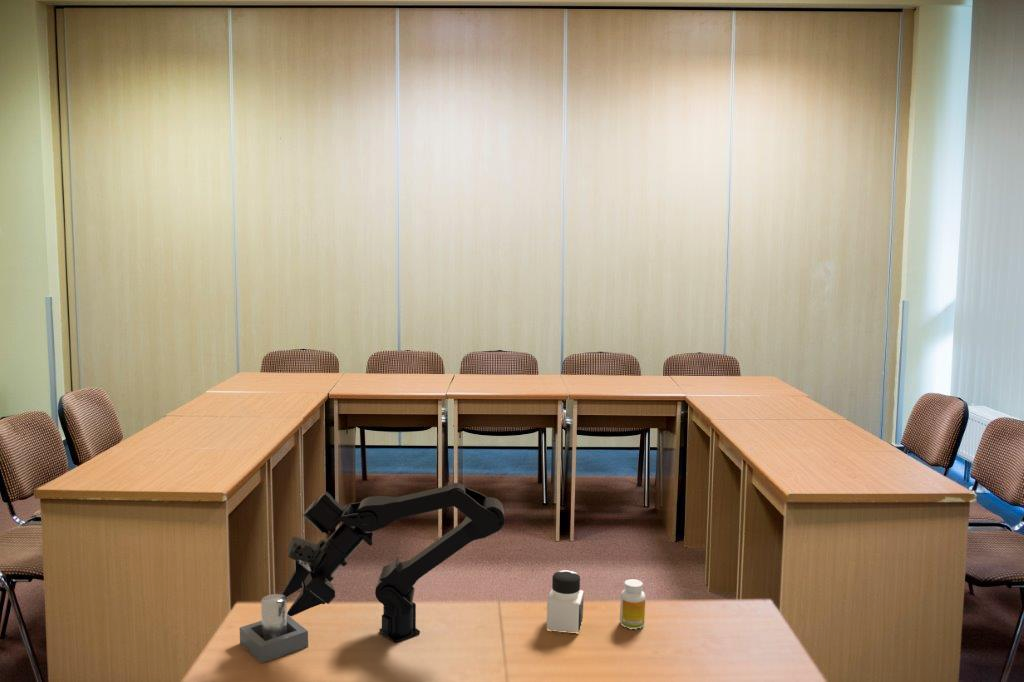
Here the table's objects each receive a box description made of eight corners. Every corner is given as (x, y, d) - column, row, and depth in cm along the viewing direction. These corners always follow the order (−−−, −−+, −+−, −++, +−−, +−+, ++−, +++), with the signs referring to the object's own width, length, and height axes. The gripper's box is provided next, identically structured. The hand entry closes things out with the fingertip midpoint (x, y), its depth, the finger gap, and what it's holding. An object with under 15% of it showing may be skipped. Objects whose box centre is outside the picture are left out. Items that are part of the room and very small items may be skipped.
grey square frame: (285, 628, 178) (285, 613, 178) (308, 646, 171) (307, 630, 170) (239, 643, 172) (239, 627, 171) (261, 663, 164) (260, 646, 164)
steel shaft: (280, 636, 175) (279, 591, 174) (291, 646, 171) (290, 600, 170) (258, 644, 172) (257, 598, 170) (268, 653, 168) (267, 607, 167)
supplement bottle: (648, 629, 181) (650, 586, 180) (624, 631, 180) (626, 589, 179) (638, 617, 187) (640, 576, 185) (616, 619, 185) (617, 578, 184)
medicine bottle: (579, 635, 178) (580, 582, 176) (546, 631, 179) (547, 578, 178) (582, 620, 185) (584, 568, 183) (551, 616, 186) (552, 565, 185)
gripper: (304, 509, 179) (252, 565, 177) (317, 540, 162) (260, 602, 160) (341, 540, 183) (291, 594, 181) (357, 573, 166) (303, 634, 164)
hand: (286, 605), depth 171 cm, fingers open, 9 cm apart
